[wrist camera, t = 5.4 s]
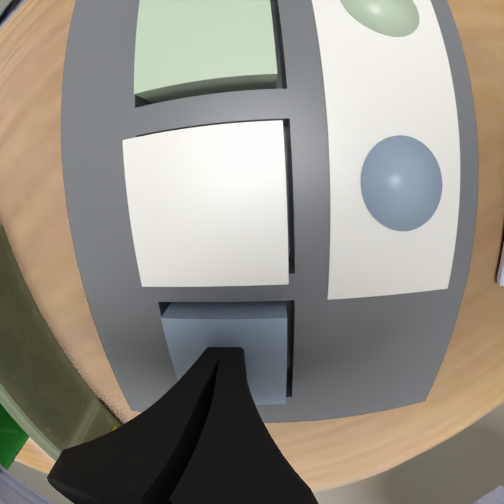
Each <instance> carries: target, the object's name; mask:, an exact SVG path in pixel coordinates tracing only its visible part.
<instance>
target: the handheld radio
mask: <svg viewBox="0 0 504 504" xmlns="http://www.w3.org/2000/svg"><path fill="white" fill-rule="evenodd" d="M0 403H1V404H2V406H3V407H4V408H5V409H6V411H7V412H8V413H9V414H10V415H11V417H12V418H13V419H14V420H15V421H16V422H17V423H18V425H19V426H20V427H21V428H22V429H23V430H24V431H25V432H26V433H27V434H28V435H29V436H30V437H31V438H32V439H33V440H34V441H35V442H36V443H37V444H38V445H39V446H40V447H41V448H42V449H43V450H44V451H45V452H46V453H47V454H48V455H49V456H50V457H52V458H53V459H54V460H55V461H57V459H58V457H59V456H60V454H61V452H62V451H63V449H67V448H71V447H74V446H77V445H80V444H83V443H86V442H88V441H91V440H93V439H96V438H98V437H100V436H103V435H105V434H107V433H109V432H111V431H113V430H115V429H117V428H119V427H120V426H122V425H121V424H120V423H119V422H118V421H117V419H116V418H115V417H114V416H113V415H112V414H111V413H110V412H109V410H108V409H107V408H106V407H105V406H104V405H103V403H102V402H101V401H100V400H99V399H98V397H97V396H96V395H95V394H94V393H93V391H92V390H91V389H90V387H89V386H88V385H87V384H86V382H85V381H84V380H83V378H82V377H81V376H80V374H79V373H78V372H77V370H76V369H75V367H74V366H73V365H72V363H71V362H70V360H69V359H68V357H67V356H66V354H65V353H64V351H63V350H62V348H61V347H60V345H59V344H58V342H57V340H56V339H55V337H54V336H53V334H52V332H51V331H50V329H49V327H48V325H47V324H46V322H45V320H44V318H43V317H42V315H41V313H40V311H39V309H38V307H37V306H36V304H35V302H34V300H33V298H32V296H31V294H30V292H29V290H28V288H27V285H26V283H25V281H24V279H23V277H22V275H21V272H20V270H19V268H18V265H17V263H16V260H15V258H14V255H13V253H12V250H11V248H10V245H9V242H8V240H7V237H6V234H5V231H4V228H3V226H2V225H1V224H0Z"/></svg>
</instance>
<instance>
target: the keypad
mask: <svg viewBox="0 0 504 504" xmlns="http://www.w3.org/2000/svg"><path fill="white" fill-rule="evenodd" d="M139 1H140V0H76V3H75V7H74V11H73V15H72V20H71V25H70V30H69V35H68V41H67V47H66V54H65V62H64V71H63V82H62V98H61V151H62V167H63V179H64V189H65V197H66V205H67V212H68V218H69V224H70V230H71V235H72V241H73V246H74V250H75V255H76V259H77V264H78V268H79V272H80V276H81V280H82V283H83V287H84V291H85V294H86V298H87V301H88V304H89V308H90V311H91V314H92V317H93V320H94V323H95V326H96V329H97V332H98V334H99V337H100V340H101V343H102V345H103V348H104V351H105V353H106V356H107V358H108V361H109V363H110V365H111V368H112V370H113V372H114V375H115V377H116V379H117V381H118V384H119V386H120V388H121V390H122V392H123V394H124V396H125V398H126V400H127V402H128V404H129V406H130V408H131V410H133V411H138V412H144V411H145V410H146V409H148V408H149V407H150V406H151V405H153V404H154V403H155V402H156V401H157V400H159V399H160V398H161V397H162V396H163V395H164V394H165V393H166V392H167V391H168V390H169V389H170V388H172V387H173V386H174V385H175V384H176V383H177V382H178V380H177V377H176V374H175V370H174V367H173V363H172V360H171V356H170V353H169V349H168V345H167V341H166V338H165V334H164V330H163V326H162V321H161V317H162V315H163V314H164V312H165V311H166V309H167V308H168V306H169V305H170V303H171V302H254V301H286V311H287V379H286V404H271V405H256V408H257V410H258V412H259V415H260V417H261V419H262V421H263V423H281V422H301V421H314V420H325V419H334V418H342V417H350V416H356V415H363V414H369V413H374V412H379V411H384V410H389V409H394V408H398V407H403V406H407V405H411V404H415V403H419V402H422V401H425V400H426V398H427V396H428V394H429V391H430V389H431V387H432V385H433V383H434V380H435V378H436V376H437V373H438V371H439V368H440V366H441V363H442V361H443V358H444V355H445V353H446V350H447V347H448V344H449V341H450V338H451V335H452V332H453V329H454V326H455V323H456V319H457V316H458V312H459V309H460V305H461V301H462V297H463V293H464V289H465V285H466V280H467V275H468V270H469V265H470V260H471V254H472V247H473V240H474V233H475V224H476V213H477V199H478V141H477V127H476V117H475V109H474V101H473V95H472V88H471V83H470V78H469V73H468V68H467V64H466V59H465V55H464V51H463V48H462V44H461V40H460V37H459V34H458V31H457V27H456V24H455V21H454V19H453V16H452V13H451V10H450V8H449V5H448V2H447V0H270V5H271V13H272V22H273V32H274V42H275V52H276V63H277V84H276V89H261V90H245V91H233V92H223V93H215V94H207V95H199V96H193V97H186V98H180V99H175V100H169V101H164V102H159V103H152V102H150V101H148V100H146V99H144V98H141V97H139V96H137V95H135V94H134V61H135V43H136V29H137V19H138V10H139ZM279 120H283V132H284V150H285V169H286V192H287V221H288V268H289V284H285V285H255V286H209V287H142V284H141V279H140V274H139V269H138V264H137V259H136V253H135V248H134V242H133V236H132V229H131V223H130V215H129V208H128V200H127V191H126V181H125V170H124V158H123V141H122V140H126V139H130V138H135V137H140V136H145V135H150V134H155V133H161V132H167V131H173V130H179V129H186V128H193V127H201V126H209V125H219V124H229V123H241V122H256V121H279Z"/></svg>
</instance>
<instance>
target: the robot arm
mask: <svg viewBox="0 0 504 504" xmlns="http://www.w3.org/2000/svg"><path fill="white" fill-rule="evenodd" d="M497 283H498V284H499V285H500V286H504V243H503V249H502V255H501V260H500V266H499V270H498V275H497ZM47 479H48V482H49V483H50V484H51V485H52V486H53V487H54V488H55V489H56V490H57V491H59V492H60V493H61V494H62V495H64V496H65V497H66V498H68V499H69V500H70V501H72V502H73V503H74V504H318V502H317V500H316V498H315V497H314V495H313V493H312V491H311V489H310V488H309V486H308V485H307V484H306V483H305V482H304V481H303V480H302V479H301V478H300V476H299V475H298V474H297V473H296V472H295V471H294V469H293V468H292V467H291V465H290V464H289V463H288V461H287V460H286V459H285V457H284V456H283V454H282V453H281V451H280V450H279V448H278V447H277V445H276V444H275V442H274V441H273V439H272V437H271V436H270V434H269V432H268V430H267V429H266V427H265V425H264V423H263V421H262V419H261V417H260V415H259V412H258V410H257V408H256V405H255V403H254V400H253V398H252V395H251V392H250V389H249V386H248V382H247V375H246V365H245V354H244V349H242V348H241V347H207V348H206V349H205V350H204V352H203V353H202V354H201V355H200V357H199V358H198V359H197V360H196V361H195V363H194V364H193V365H192V366H191V367H190V368H189V370H188V371H187V372H186V373H185V374H184V375H183V376H182V377H181V378H180V379H179V381H178V382H177V383H176V384H175V385H174V386H173V387H172V388H170V389H169V390H168V391H167V392H166V393H165V394H164V395H163V396H162V397H161V398H160V399H159V400H157V401H156V402H155V403H154V404H153V405H151V406H150V407H149V408H148V409H146V410H145V411H144V412H142V413H141V414H139V415H138V416H136V417H135V418H133V419H132V420H130V421H128V422H127V423H125V424H124V425H122V426H120V427H119V428H117V429H115V430H113V431H111V432H109V433H107V434H105V435H103V436H100V437H98V438H96V439H93V440H91V441H88V442H86V443H83V444H80V445H77V446H74V447H71V448H67V449H63V451H62V452H61V454H60V456H59V457H58V459H57V461H56V462H55V464H54V466H53V468H52V469H51V471H50V473H49V475H48V477H47ZM0 504H57V503H55V502H53V501H51V500H50V499H48V498H46V497H45V496H43V495H42V494H40V493H38V492H37V491H35V490H33V489H32V488H31V487H29V486H28V485H27V484H25V483H24V482H22V481H21V480H19V479H18V478H17V477H15V476H14V475H13V474H11V473H10V472H9V471H8V470H6V469H5V468H4V467H2V465H1V464H0ZM472 504H504V487H503V485H500V486H499V487H497V488H496V489H494V490H493V491H491V492H490V493H488V494H486V495H485V496H483V497H481V498H480V499H478V500H477V501H475V502H473V503H472Z"/></svg>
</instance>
